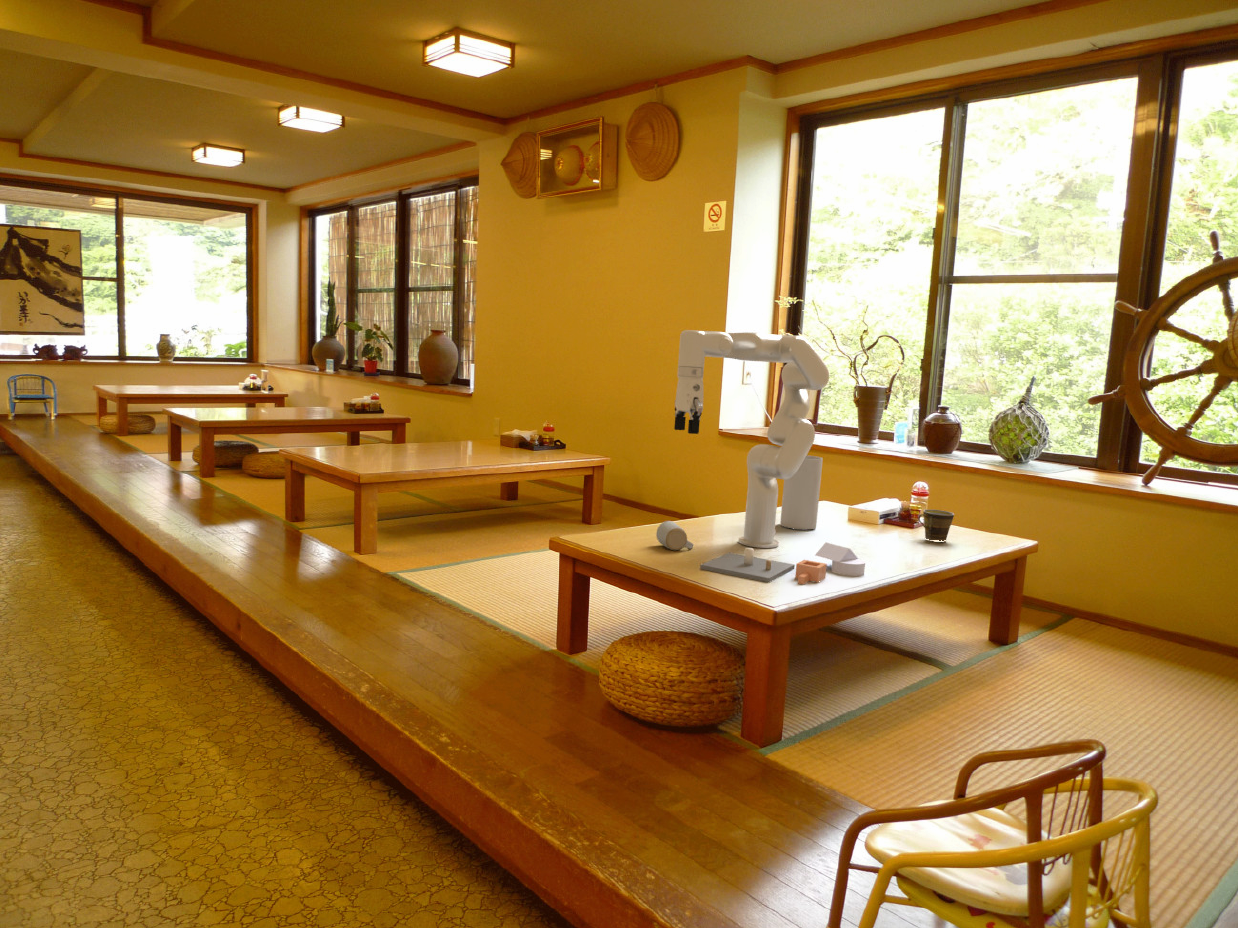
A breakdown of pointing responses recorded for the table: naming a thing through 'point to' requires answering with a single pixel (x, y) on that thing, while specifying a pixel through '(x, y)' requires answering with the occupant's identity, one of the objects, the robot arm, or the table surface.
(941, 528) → the ceramic cup
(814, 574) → the square frame with post
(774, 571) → the base plate
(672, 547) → the ceramic mug
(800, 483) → the cylinder vase
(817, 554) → the wedge on round base
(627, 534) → the table surface
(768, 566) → the dowel pin
